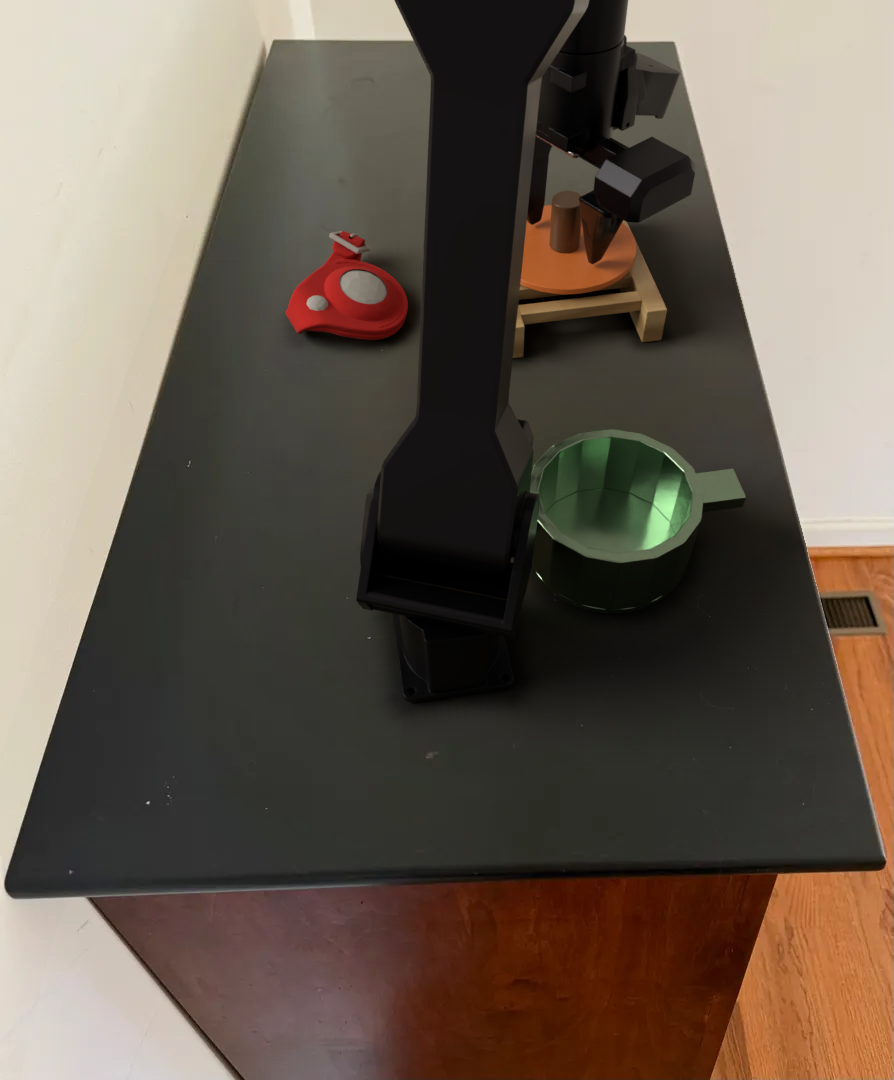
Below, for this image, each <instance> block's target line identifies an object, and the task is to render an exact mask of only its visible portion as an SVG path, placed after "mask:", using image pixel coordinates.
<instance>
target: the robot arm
mask: <svg viewBox="0 0 894 1080" xmlns="http://www.w3.org/2000/svg"><path fill="white" fill-rule="evenodd" d="M393 1H394V3H395V5H396V8H397V9H398V11H399V13H400V16H401V17H402V20H403V22H404V24H405V26H406V28H407V30H408V32H409V34H410V36H411V38H412V40H413V42H414V45H415V47H416V49H417V51H418V53H419V55H420V57H421V60H422V61H423V63H424V65H425V68H426V69H427V72H428V74H429V76H430V93H429V94H430V95H429V96H430V97H429V118H428V139H427V160H426V161H427V165H426V183H425V186H426V187H425V210H424V230H423V231H424V232H423V252H422V255H423V256H422V276H421V277H422V278H421V297H420V298H421V301H420V323H419V324H420V326H419V343H418V344H419V346H418V348H419V349H418V364H417V365H418V367H417V389H416V390H417V391H416V409H415V416H414V417H413V419H412V420H411V422H410V423H409V425H408V426H407V427H406V428H405V430H404V431H403V433H402V434H401V436H400V437H399V438H398V440H397V442H395V444H394V445H393V448H392V449H391V450H390V451H389V453H388V454H387V455H386V457H385V459H384V460H383V462H382V463H381V469H380V471H379V472H378V475H377V477H376V479H375V483H374V484H373V488H371V489H370V490H368V491H367V493H366V496H365V504H364V511H363V512H364V514H363V522H362V532H361V540H360V554H359V561H360V564H359V565H360V570H359V578H358V583H357V590H356V595H355V596H356V603H358V605H359V606H360V607H361V608H362V610H367V611H380V612H384V613H389V614H392V622H393V629H394V630H393V631H394V636H395V646H396V652H397V661H398V667H399V668H398V669H399V676H400V683H401V691H402V697H403V699H404V701H405V702H407V703H416V702H423V701H432V700H438V699H444V698H451V697H457V696H465V695H472V694H479V693H485V692H492V691H493V692H494V691H500V690H507V689H510V688H511V687H512V686H513V684H514V673H513V667H512V664H511V659H510V654H509V653H510V652H509V649H508V645H507V640H511V641H513V640H514V639H515V635H516V631H517V627H518V624H519V620H520V616H521V612H522V609H523V604H524V601H525V595H526V593H527V589H528V584H529V581H530V577H531V572H532V569H531V566H532V559H533V551H534V544H535V536H536V528H537V521H538V513H539V504H540V495H539V494H534V493H530V484H531V474H532V469H533V465H534V464H533V463H534V462H533V461H534V448H533V446H534V439H535V438H534V434H533V431H532V428H531V425H530V422H529V421H528V420H524V419H519V418H517V416H516V414H515V412H514V411H513V409H512V406H511V405H510V402H509V399H510V389H511V378H512V367H513V359H514V358H513V350H514V340H515V331H516V321H517V311H518V305H519V303H520V302H519V301H520V300H519V292H520V282H521V272H522V263H523V253H524V243H525V233H526V224H527V221H528V223H530V224H531V225H533V224H535V223H537V222H539V221H540V220H541V218H542V213H543V208H544V206H545V201H546V192H547V181H548V170H549V160H550V152H551V150H552V148H554V149H556V150H558V151H560V152H561V153H563V154H565V155H567V156H568V157H570V158H571V159H578V158H580V159H581V160H583V161H584V162H587V163H589V164H590V165H592V166H593V167H595V168H597V169H598V171H597V172H596V174H595V176H594V181H593V182H594V183H593V190H591V191H589V192H587V193H585V194H583V195H582V196H581V197H579V204H580V212H581V219H582V227H583V235H584V243H585V250H586V254H587V258H588V262H589V263H590V264H595V263H596V262H598V261H600V260H601V259H602V258H603V256H604V254H605V252H606V250H607V249H608V247H609V245H610V243H611V241H612V240H613V238H614V236H615V234H616V233H617V231H618V229H619V227H620V225H621V224H622V222H623V220H624V221H626V222H627V223H641V222H643V221H645V220H647V219H649V218H650V217H653V216H654V215H656V214H658V213H660V212H662V211H664V210H666V209H668V208H669V207H671V206H673V205H675V204H676V203H678V202H680V201H682V200H684V199H686V198H688V197H689V196H692V192H693V186H694V181H695V176H696V163H695V161H694V160H693V159H692V158H691V157H690V156H689V155H687V154H686V153H683V152H682V151H680V150H679V149H676V148H674V147H673V146H670V145H669V144H667V143H665V142H663V141H661V140H660V139H657V138H656V137H654V136H650V137H648V138H646V139H644V140H642V141H640V142H638V143H636V144H633V145H632V146H630V147H629V146H627V145H626V144H623V143H622V142H620V141H619V140H616V139H614V138H613V137H612V136H613V132H614V131H616V130H619V131H621V132H623V131H625V130H628V129H630V128H632V127H634V126H635V124H636V123H635V121H636V116H645V117H646V116H648V117H649V116H650V117H654V118H655V119H658V120H663V119H664V118H665V115H666V113H667V110H668V108H669V105H670V102H671V99H672V97H673V95H674V91H675V90H676V86H677V84H678V81H679V78H680V76H681V72H680V71H678V70H677V69H675V68H673V67H670V66H669V65H666V64H665V63H662V62H660V61H658V60H656V59H653V58H652V57H650V56H647V55H646V54H642V53H640V52H637V51H636V49H635V48H633V47H630V46H629V45H627V43H628V42H627V41H628V38H627V36H626V35H625V34H626V33H625V32H626V23H627V15H628V7H629V0H393ZM512 559H513V562H512ZM506 639H507V640H506ZM503 678H505V679H508V680H506V681H503V680H502V679H503ZM409 692H414V693H413V694H409Z"/></svg>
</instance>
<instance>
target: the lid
mask: <svg viewBox="0 0 894 1080" xmlns="http://www.w3.org/2000/svg"><path fill="white" fill-rule="evenodd" d="M581 196H583V195H582V194H581V193H579V192H578V191H573V190H562V191H559V192H557V193H555V194H554V195H553V196H552V198H551V204H548V205H544V208H543V213H542V218H541V220H540V221H539V222H537V223H535V224H533V225H531V224H530V223H528V221H527V224H526V233H525V243H524V253H523V263H522V272H521V282H520V284H521V285H523V286H525V287H528V288H530V289H533V290H537V291H541V292H546V293H552V294H566V295H580V294H587V293H591V292H597V291H596V290H599V289H602V288H605V287H608V286H610V285H612V284H614V283H615V282H617V281H618V280H620V279H621V278H623V277H624V276H625V275H626V274H627V273H628V272H629V270H630V269H631V267H632V266H633V264H634V261H635V258H636V251H637V246H636V243H637V241H636V238H635V236H634V234H633V232H632V230H631V229H630V230H631V231H630V230H629V229H628V227H627V226H626V225H625V224H623V223H622V224H621V225H620V227H619V229H618V231H617V233H616V234H615V236H614V238H613V240H612V241H611V243H610V245H609V247H608V249H607V250H606V252H605V254H604V256H603V258H602V259H601V260H600V261H598V262H596V263H595V264H590V263H589V262H588V258H587V254H586V250H585V243H584V235H583V227H582V219H581V212H580V204H579V197H581Z"/></svg>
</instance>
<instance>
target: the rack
mask: <svg viewBox="0 0 894 1080" xmlns="http://www.w3.org/2000/svg"><path fill="white" fill-rule="evenodd" d="M622 223H623V224H625V225H626V226H627V227H628V229H629V230H630V231H631V232H632V230H631V228H630V226H629V222H626V221H624V220H623V222H622ZM636 246H637V251H636V258H635V261H634V264H633V266H632V267H631V269H630V270H629V272H628V273H627V274H626V275H625V276H624V277H623V278H621V279H620V280H618V281H617V282H615V283H614V284H612V285H610V286H608V287H605V288H602V289H599V290H596V291H595V292H599V291H609V290H616V289H619V293H609V294H601V295H593V296H584V297H575V298H568V299H567V298H566V299H559V300H551V301H542V302H535V303H526V304H518V311H517V321H516V331H515V340H514V350H513V359H517V358H518V359H519V358H524V352H525V351H524V349H525V329H526V327H525V325H531V324H532V325H534V324H540V323H541V324H542V323H549V322H557V321H566V320H574V319H575V320H576V319H582V318H592V317H598V316H599V317H600V316H608V315H615V314H617V315H618V314H623V313H629V315H630V317H631V320H632V322H633V324H634V327H635V329H636V333H637V334H638V337H639V339H640V342H641V343H647V342H649V343H650V342H655V341H656V342H657V341H661V340H662V338H663V334H664V328H665V323H666V317H667V312H668V308H667V306H666V303H665V302H664V299H663V297H662V295H661V293H660V290H659V289H658V286H657V284H656V282H655V280H654V278H653V276H652V273H651V271H650V269H649V267H648V265H647V263H646V261H645V258H644V256H643V253H642V251H641V250H640V249H641V248H640V247H639V245H638V243H637V242H636ZM565 295H567V294H552V293H546V292H541V291H537V290H533V289H530V288H528V287H525V286H523V285H521V284H520V292H519V301H522V300H524V301H525V300H530V299H532V300H533V299H539V298H548V297H556V296H557V297H558V296H565Z"/></svg>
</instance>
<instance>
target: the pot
mask: <svg viewBox="0 0 894 1080" xmlns="http://www.w3.org/2000/svg"><path fill="white" fill-rule="evenodd" d="M530 493H534V494H539V495H540V504H539V513H538V521H537V528H536V536H535V544H534V551H533V559H532V566H531V572H533V575H534V576H535V578H536V579H537V580H538V582H540V584H542V586H543V587H544V588H545V589H546V590H547V591H548V592H550V593H551V594H552V595H553V596H555V597H556V598H558V600H561V601H563V602H565V603H566V604H569V605H570V606H573V607H576V608H578V609H581V610H584V611H589V612H592V613H597V614H615V615H616V614H628V613H632V612H637V611H640V610H643V609H646V608H649V607H651V606H654V605H655V604H657V603H659V602H660V601H662V600H664V598H666V597H668V595H669V594H671V592H673V590H675V588H676V587H677V586H678V585H679V583H680V581H681V579H682V578H683V576H684V574H685V572H686V571H687V568H688V565H689V562H690V559H691V555H692V552H693V549H694V545H695V542H696V539H697V537H698V532H699V529H700V526H701V523H702V519H703V514H704V513H710V512H718V511H726V510H732V509H740V508H741V509H742V508H743V507H744V505H745V502H746V498H747V496H746V494H745V492H744V489H743V487H742V485H741V483H740V481H739V478H738V476H737V474H736V471H735V469H734V468H727V469H725V468H724V469H719V470H711V471H710V470H709V471H704V472H703V471H702V472H696V470H695V468H694V467H693V466H692V464H690V463H689V462H688V461H687V460H686V459H684V458H683V456H682V455H681V454H680V453H678V451H676V450H675V449H674V448H673V447H671V446H670V445H667V444H665V443H663V442H661V441H659V440H656V439H655V438H652V437H650V436H648V435H646V434H644V433H641V432H634V431H629V430H628V431H627V430H621V429H615V428H608V429H607V428H606V429H600V430H593V431H592V430H590V431H583V432H578V433H575V434H573V435H572V436H569V437H567V438H565V439H563V440H561V441H559V442H557V443H554V444H552V445H551V446H549V448H548V449H547V450H546V451H545V452H544V453H543V455H542V456H541V457H540V458H539V459H538V460H537V461H536V462H535V463H534V464H533V465H532V474H531V484H530Z"/></svg>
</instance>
